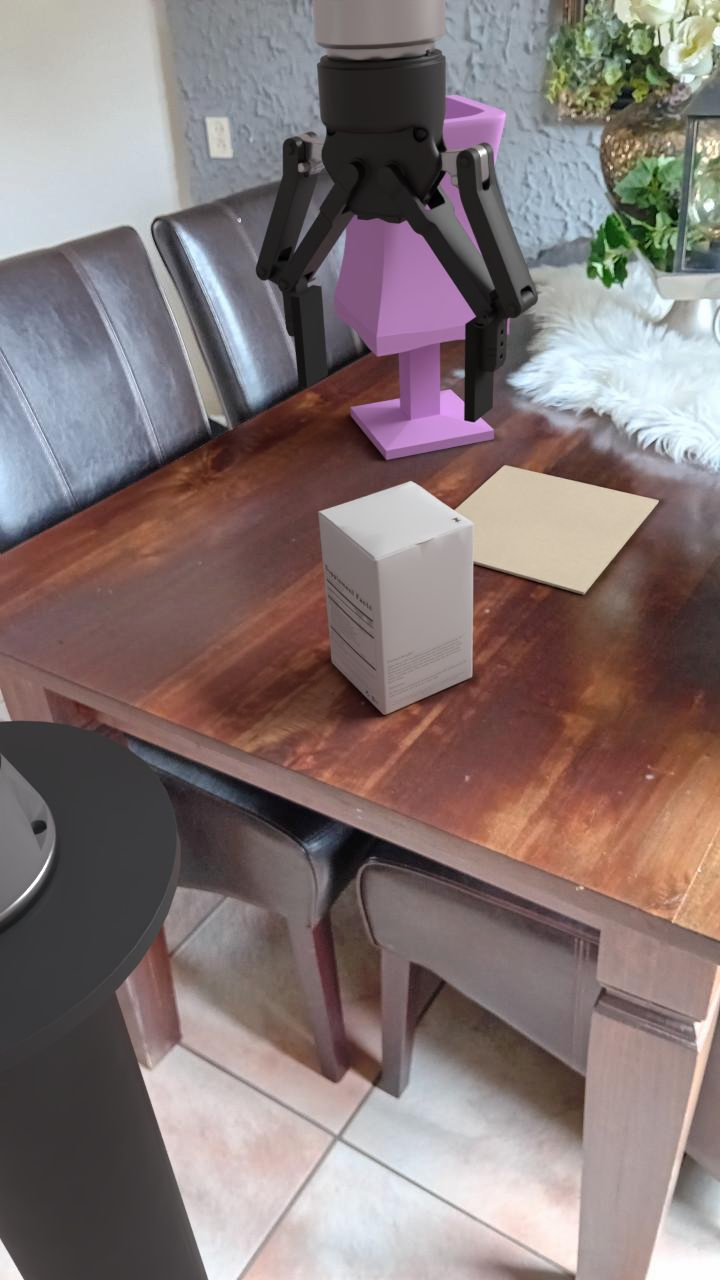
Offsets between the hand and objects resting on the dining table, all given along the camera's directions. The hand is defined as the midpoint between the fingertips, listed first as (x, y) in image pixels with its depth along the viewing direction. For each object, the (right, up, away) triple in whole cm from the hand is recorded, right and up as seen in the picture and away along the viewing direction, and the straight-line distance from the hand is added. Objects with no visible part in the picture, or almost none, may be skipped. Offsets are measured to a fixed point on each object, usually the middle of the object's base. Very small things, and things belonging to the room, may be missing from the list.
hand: (392, 397), depth 71 cm
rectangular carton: (+1, -20, +14) cm, 25 cm away
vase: (+5, +9, +54) cm, 55 cm away
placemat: (+16, -5, +33) cm, 37 cm away
